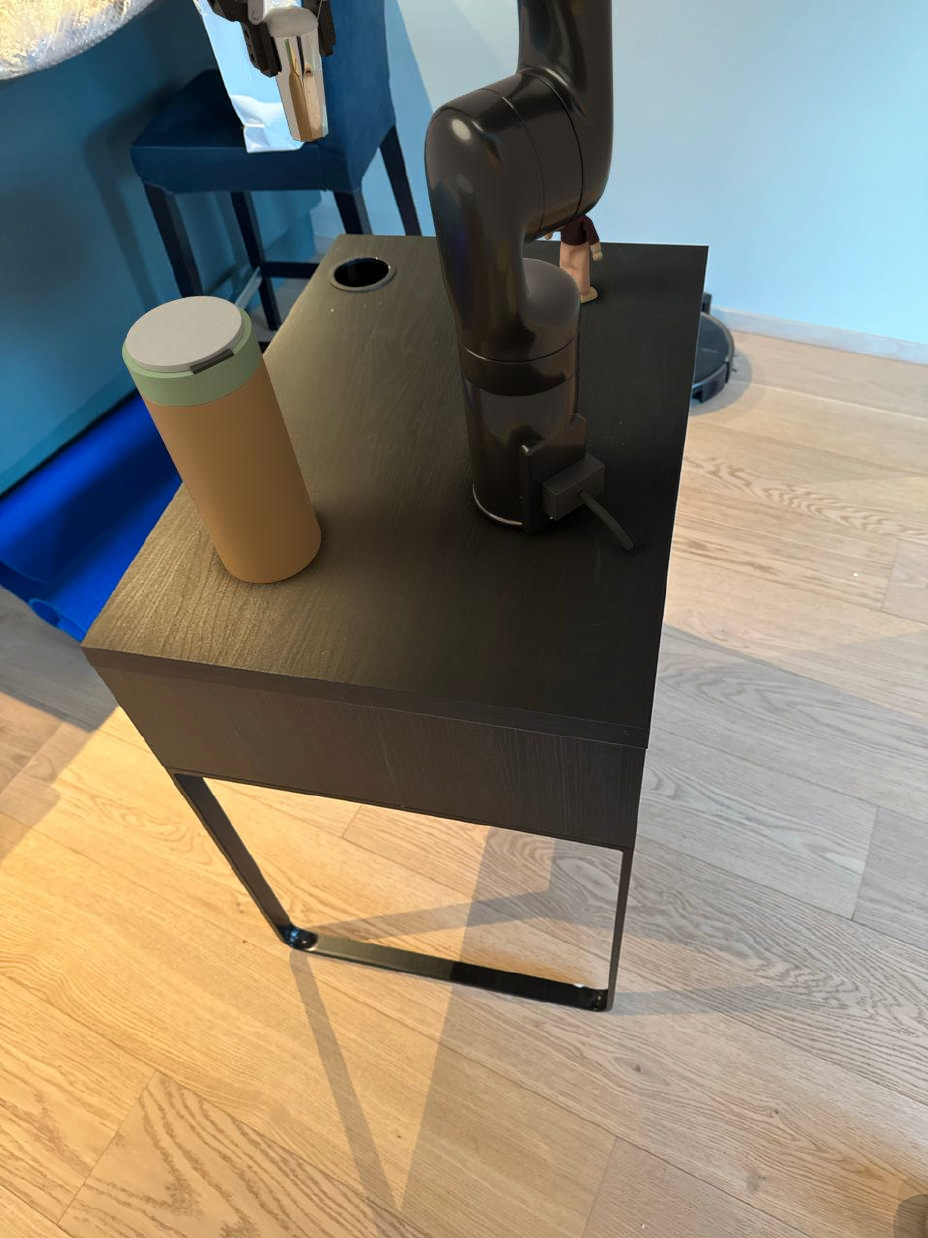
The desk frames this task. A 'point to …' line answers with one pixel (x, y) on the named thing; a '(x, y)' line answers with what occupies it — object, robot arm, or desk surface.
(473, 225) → the robot arm
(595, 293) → the grandmother figurine
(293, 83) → the milkshake
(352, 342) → the desk surface
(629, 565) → the desk surface
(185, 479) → the lidded travel tumbler
